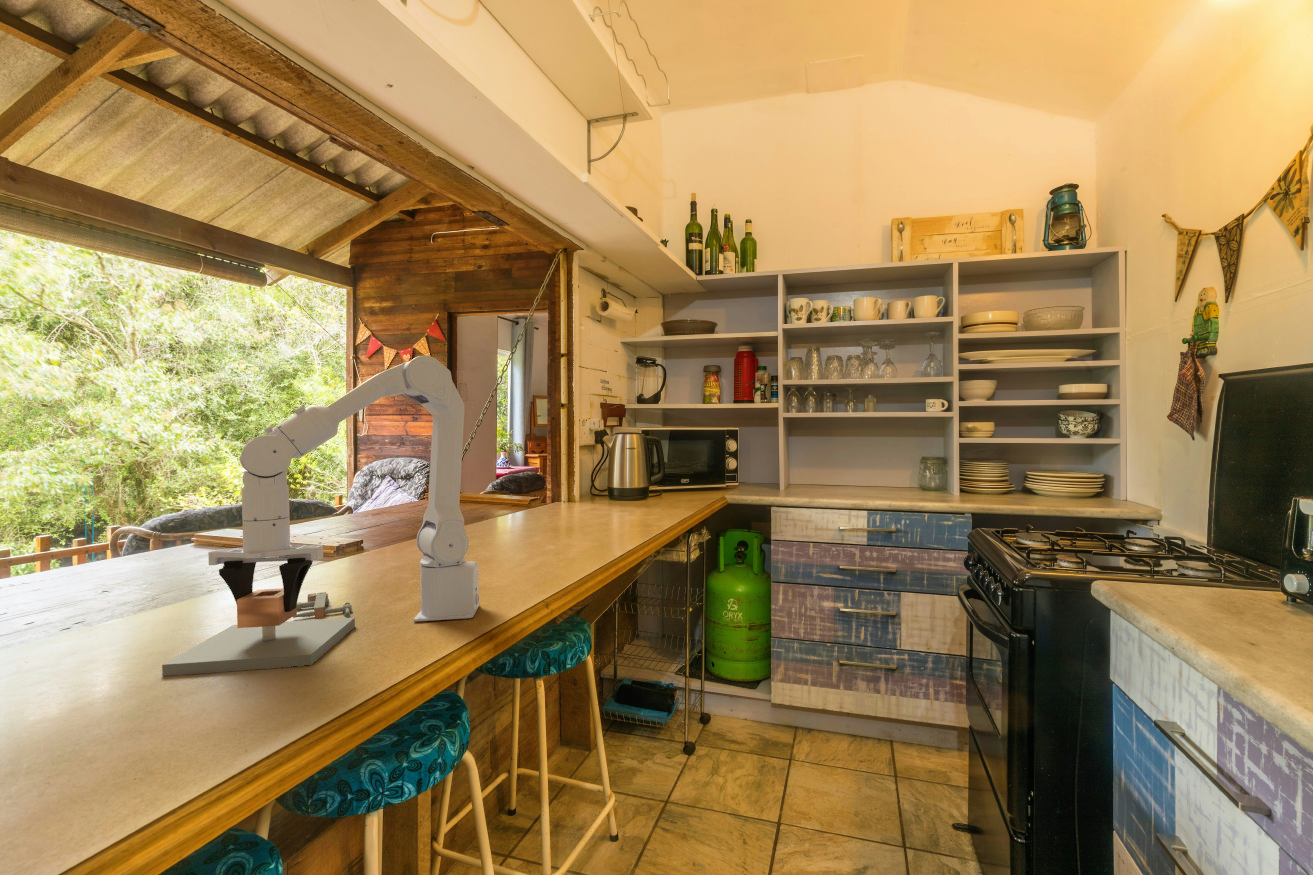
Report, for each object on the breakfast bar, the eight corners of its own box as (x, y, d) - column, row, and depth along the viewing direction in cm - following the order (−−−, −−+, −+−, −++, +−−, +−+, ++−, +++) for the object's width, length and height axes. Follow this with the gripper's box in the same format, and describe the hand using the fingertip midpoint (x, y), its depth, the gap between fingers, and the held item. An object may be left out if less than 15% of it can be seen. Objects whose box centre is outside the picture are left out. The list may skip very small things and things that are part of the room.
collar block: (296, 613, 87) (296, 587, 87) (279, 625, 82) (278, 597, 82) (257, 616, 86) (257, 589, 86) (237, 628, 81) (236, 599, 81)
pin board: (354, 626, 93) (354, 598, 93) (311, 665, 78) (310, 632, 78) (233, 634, 91) (232, 605, 91) (162, 676, 75) (161, 641, 75)
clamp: (290, 595, 106) (351, 587, 111) (290, 607, 106) (351, 599, 111) (282, 617, 93) (351, 608, 98) (282, 631, 93) (352, 621, 98)
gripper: (193, 524, 79) (195, 622, 79) (307, 520, 81) (309, 616, 81) (224, 517, 86) (226, 607, 86) (328, 513, 88) (329, 602, 88)
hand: (268, 611), depth 84 cm, fingers closed on collar block, 5 cm apart
